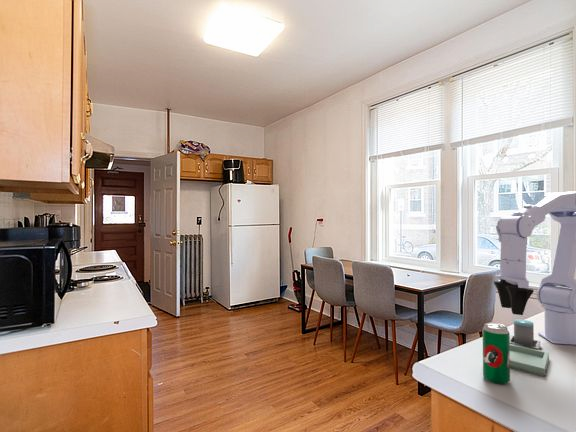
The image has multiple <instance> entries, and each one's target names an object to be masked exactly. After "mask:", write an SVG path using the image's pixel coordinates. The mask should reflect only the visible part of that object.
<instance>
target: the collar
mask: <svg viewBox="0 0 576 432" xmlns="http://www.w3.org/2000/svg"><path fill="white" fill-rule="evenodd" d="M510 344H512V345H517V346H522V347H526V348H531V349H535V350H540V349H541V340H537V339H534V347H533V346H528V345H523V344H518V343H514V335H510Z"/></svg>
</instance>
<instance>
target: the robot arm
mask: <svg viewBox="0 0 576 432" xmlns="http://www.w3.org/2000/svg"><path fill="white" fill-rule="evenodd" d="M546 215H550V217H551V218H552V220H553V221H555V222H557V223H559V224H560V228H559V229H560V230H559V235H558V240H557V245H556V249H555V256H554V261H553V267H552V272H551V274H550V275H547V276H545V277H543V278H541V281H540V283H539V284H540V285H539V287H538V288H537V290H536V293H535V294H536V300H537V302H538V303H539V304H540V305H541V307H542V308H544V332H541V331H539V332H538V333H537V335H539V336H541V337H543V338H544V339H545V340H547V341H549V342H550V343H552V344H558V345H559V344H560V345H562V344H563V345H573V346H576V278H575V275H576V191H575V190H574V191H573V190H571V191H559V192H547V193H546V194H544V195H543V196H542V199H541V200H540V201H539V202H538V203H537V204H531V203H530V204H524V205H523V208H521V209H520V210H518V211H515V212H513V214H511V215H508V216H507V215H504V216H502V217H501V218H499V219H498V221H497V223H496V225H495V230H496V232H497V233H496V234H497V235H498V241H499V243H500V257H499V259H500V262H499V263H500V266H499V273H498V274H494V278H496V279H498V280H494V281H493V283H494V286H495V288H496V290H497V293H498V297H499V302H500V306H501V308H503V309H504V308H507V309H511V313H512V314H513V315H518V316H523V315H524V312H525V309H526V306H527V304H528V302H529V299H530V298H531V296H532V295H533V294H534V289H532V288H530V287H529V285H530V284H529V283H530V281H529V280H528V278H527V274H526V273H527V242H528V241H527V240H528V239H527V238H529V237H531V236H532V234H533V230H535V228H536V226H537V227H538V225H540V224H542V223H543V222H544V221H545V219H546Z"/></svg>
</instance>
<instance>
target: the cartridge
mask: <svg viewBox="0 0 576 432" xmlns="http://www.w3.org/2000/svg"><path fill="white" fill-rule="evenodd" d="M534 327H535V326H534V322H533V321H531V320H527V319H520V318H518V319H513V336H514V341H513V342H514V343H518V344H523V345H528V346H533V347H535V346H534V340H535V338H534V337H535V336H534V335H535V334H534Z"/></svg>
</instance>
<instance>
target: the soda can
mask: <svg viewBox="0 0 576 432" xmlns="http://www.w3.org/2000/svg"><path fill="white" fill-rule="evenodd" d="M510 336H511V335H510V331H509V329H508V326H506V325H504V324H501V323H495V322H485V323H484V326H483V327H482V376H483V377H484V378H485V380H487V381H488V382H490V383H493V384H496V385H507V384H509V383H510V382H511V368H510Z"/></svg>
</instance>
